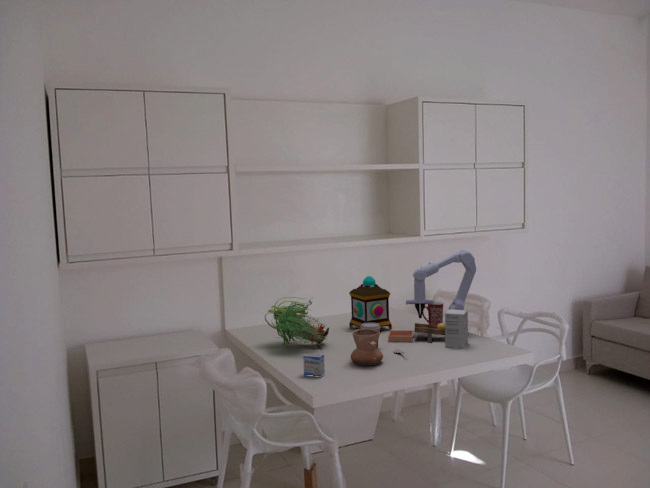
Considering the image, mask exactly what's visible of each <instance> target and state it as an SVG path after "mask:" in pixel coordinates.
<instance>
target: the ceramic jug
mask: <svg viewBox="0 0 650 488" xmlns="http://www.w3.org/2000/svg"><path fill="white" fill-rule="evenodd" d="M380 335H381V332H380V330H379V331H377V330H374V329H361V328H358V329H354V330H353V331H352V338H353V341H354V344H355V346H356V349H354V350H353V351H352V352H351V353H350V360H351V361H352V362H353V363H354V364H356V365H360V366H373V365H376V364H379V363H380V362H381V361H382V360H383V358H384V354H383V352H382V351H381V350H380V349H379V348H378V349H377V348H376V345H377V343H378V344H379V339H380Z"/></svg>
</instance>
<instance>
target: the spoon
mask: <svg viewBox="0 0 650 488" xmlns="http://www.w3.org/2000/svg"><path fill="white" fill-rule="evenodd" d="M396 352H397V353H400V355H402V356H403V358H404V360H405V359H406V360H405V361H407V360H409V359H410V358H408V356H406V355H405V354H404V351H402V350H401V349H399V348H394V349H393V353H395V354H397V353H396Z"/></svg>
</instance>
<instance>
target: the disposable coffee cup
mask: <svg viewBox="0 0 650 488" xmlns="http://www.w3.org/2000/svg"><path fill="white" fill-rule="evenodd" d="M360 329H374V330H377V331H379V332H380V329H381V327H380V325H379V324H378V323H364V324H362V325H361V328H360ZM376 348H377V349H378V350H379V342H378V343H377V345H376Z"/></svg>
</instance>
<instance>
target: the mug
mask: <svg viewBox="0 0 650 488" xmlns="http://www.w3.org/2000/svg"><path fill="white" fill-rule="evenodd" d="M444 304H445V303H444V302H443V301H437V300H434V305H432V304H427V306H426V305H425V308H426V310H427V313H428V316H427V317H428V318H427V317H426V316H425V314H424V312H423V313H422V318H423V319H424V320H425V321H426V322H427V324H429V325H438V324H440V323H443V320H444ZM425 308H424V309H425ZM443 324H444V323H443Z"/></svg>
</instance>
